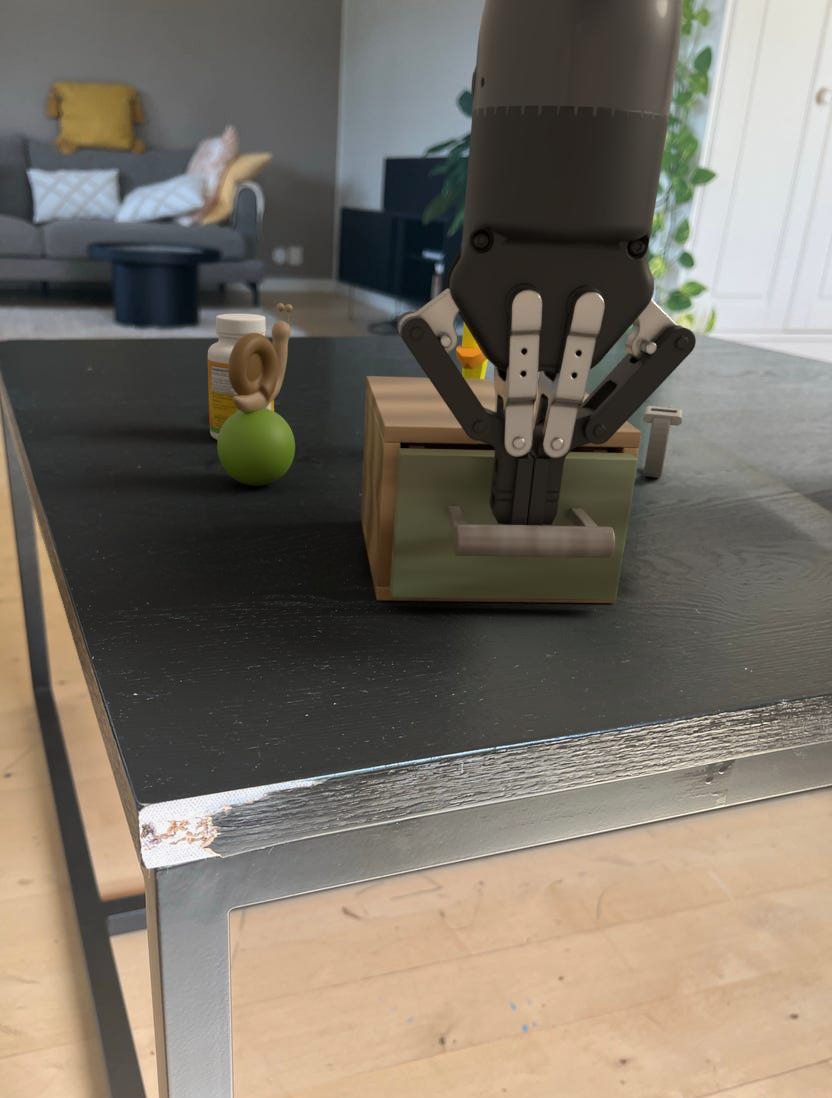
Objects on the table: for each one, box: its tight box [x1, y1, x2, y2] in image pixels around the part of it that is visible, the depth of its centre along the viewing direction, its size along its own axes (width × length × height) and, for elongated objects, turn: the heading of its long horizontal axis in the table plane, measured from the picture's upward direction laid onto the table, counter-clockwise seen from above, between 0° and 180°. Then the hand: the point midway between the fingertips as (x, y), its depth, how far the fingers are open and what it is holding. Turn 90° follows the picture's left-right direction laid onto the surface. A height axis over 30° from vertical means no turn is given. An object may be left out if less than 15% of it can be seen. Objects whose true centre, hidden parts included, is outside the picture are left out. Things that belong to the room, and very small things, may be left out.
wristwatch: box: [642, 405, 683, 479], centre depth 75 cm, size 6×3×5 cm, turn 162°
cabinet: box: [360, 375, 642, 604], centre depth 56 cm, size 14×13×9 cm
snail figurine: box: [216, 302, 296, 487], centre depth 68 cm, size 5×6×12 cm
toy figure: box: [455, 321, 489, 379], centre depth 76 cm, size 7×4×12 cm, turn 165°
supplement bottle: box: [207, 313, 275, 441], centre depth 81 cm, size 5×5×10 cm
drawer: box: [390, 443, 639, 602], centre depth 51 cm, size 17×11×7 cm, turn 3°
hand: (520, 531), depth 45 cm, fingers closed
